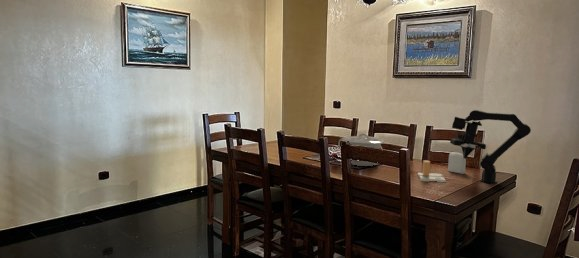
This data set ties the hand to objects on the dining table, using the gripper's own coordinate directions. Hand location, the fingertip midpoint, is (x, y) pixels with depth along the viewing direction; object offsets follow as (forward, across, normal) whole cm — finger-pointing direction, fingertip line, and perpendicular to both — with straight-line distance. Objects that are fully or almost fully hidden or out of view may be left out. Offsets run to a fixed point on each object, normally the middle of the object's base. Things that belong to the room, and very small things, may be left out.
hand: (464, 158), depth 229 cm
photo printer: (+13, -6, -15) cm, 21 cm away
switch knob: (+14, +20, 0) cm, 24 cm away
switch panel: (+14, +17, 0) cm, 22 cm away
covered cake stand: (+21, +48, -35) cm, 63 cm away
